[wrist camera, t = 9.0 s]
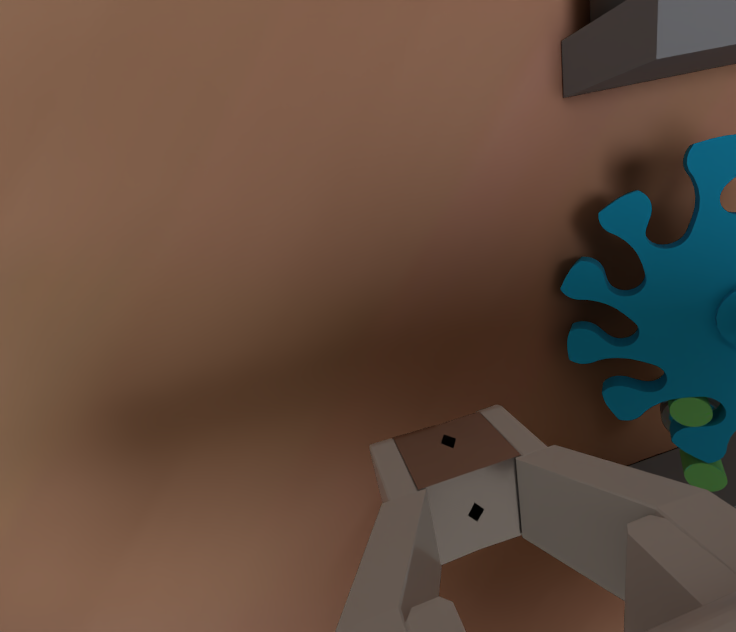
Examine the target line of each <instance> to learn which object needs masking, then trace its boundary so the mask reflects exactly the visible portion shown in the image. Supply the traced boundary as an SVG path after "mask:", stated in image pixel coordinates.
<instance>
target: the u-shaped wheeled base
mask: <svg viewBox="0 0 736 632" xmlns="http://www.w3.org/2000/svg"><path fill="white" fill-rule="evenodd" d="M731 64H736V0H590V23H589V24H588V25H586V26H585V27H583V28H581V29H580V30H578V31H577V32H575V33H573V34H572V35H570V36H569V37H567V38H565V39H564V40H562V65H563V92H564V98H566V97H571V96H576V95H581V94H586V93H591V92H596V91H601V90H606V89H611V88H616V87H621V86H626V85H631V84H636V83H641V82H646V81H651V80H656V79H661V78H666V77H671V76H676V75H681V74H686V73H691V72H696V71H701V70H706V69H711V68H716V67H721V66H726V65H731ZM721 462H722V465H723V468H724V471H725V474H726V476H727V485H726V486H725V487H724V488H723V489H721V490H719V491H714V492H711V493H713V494H714V495H716V496H717V497H719V498H720V499H722V500H723V501H725V502H726V503H728V504H729V505H731V506H732V507H734V508H735V509H736V431H735V432H734V434H733V435H732V436H731V438H730V440H729V442H728V444H727V451H726V454H725V455H724V457H723V458H721ZM628 467H631V468H635V469H638V470H641V471H645V472H648V473H652V474H655V475H658V476H662V477H665V478H668V479H672V480H675V481H678V482H682V483H685V484H689V483H688V482H687V480H686V479H685V477H684V472H683V467H682V462H681V457H680V448H677V449H674V450H672V451H669V452H666V453H663V454H660V455H658V456H655V457H652V458H649V459H647V460H644V461H641V462H638V463H635V464H633V465H630V466H628ZM689 485H690V484H689Z"/></svg>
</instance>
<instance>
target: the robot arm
mask: <svg viewBox="0 0 736 632" xmlns="http://www.w3.org/2000/svg"><path fill="white" fill-rule="evenodd" d="M369 448H370V454H371V458H372V462H373V467H374V471H375V475H376V479H377V484H378V488H379V492H380V495H381V499H382V504H381V507H380V510H379V513H378V515H377V518H376V521H375V524H374V526H373V529H372V532H371V535H370V537H369V540H368V543H367V546H366V548H365V551H364V554H363V557H362V559H361V562H360V565H359V568H358V570H357V573H356V576H355V579H354V581H353V584H352V587H351V590H350V592H349V595H348V598H347V601H346V604H345V606H344V609H343V612H342V615H341V617H340V620H339V623H338V626H337V628H336V631H335V632H466V631H465V628H464V626H463V624H462V621H461V619H460V617H459V615H458V612H457V610H456V608H455V606H454V603H453V602H452V601H449V600H447V599H444V598H442V597H439V589H440V579H441V570H442V568H441V565H443V564H445V563H448V562H450V561H453V560H455V559H458V558H460V557H462V556H465V555H467V554H470V553H472V552H475V551H477V550H479V549H482V548H485V547H488V546H491V545H494V544H497V543H500V542H503V541H506V540H509V539H512V538H515V537H517V536H520V535H522V537H523V538H524V539H526V540H527V541H529V542H531V543H532V544H534V545H535V546H537V547H539V548H540V549H542V550H543V551H545V552H547V553H548V554H550V555H551V556H553V557H555V558H556V559H558V560H559V561H561V562H563V563H564V564H566V565H568V566H569V567H571V568H572V569H574V570H576V571H577V572H579V573H580V574H582V575H584V576H585V577H587V578H588V579H590V580H592V581H593V582H595V583H596V584H598V585H600V586H601V587H603V588H604V589H606V590H608V591H609V592H611V593H612V594H614V595H616V596H617V597H619V598H620V599H622V600H624V601H625V611H624V632H736V509H735V508H734V507H732V506H731V505H729V504H728V503H726V502H725V501H723V500H722V499H720V498H719V497H717V496H716V495H714V494H713V493H711V492H710V491H708V490H705V489H702V488H699V487H695V486H692V485H689V484H685V483H682V482H678V481H675V480H672V479H668V478H665V477H662V476H658V475H655V474H652V473H648V472H645V471H641V470H638V469H635V468H631V467H628V466H625V465H621V464H618V463H614V462H611V461H608V460H604V459H601V458H598V457H594V456H591V455H587V454H584V453H581V452H577V451H574V450H571V449H567V448H564V447H560V446H557V445H552V446H549V447H547V446H546V445H545V444H544V443H543V442H542V441H541V440H539V439H538V438H537V437H536V436H535V435H534V434H533V433H532V432H530V431H529V430H528V429H527V428H526V427H525V426H524V425H523V424H521V423H520V422H519V421H518V420H517V419H516V418H515V417H513V416H512V415H511V414H510V413H509V412H508V411H507V410H506V409H504V408H503V407H502V406H500V405H497V404H496V405H494V406H491V407H488V408H485V409H482V410H479V411H476V413H473V414H470V415H467V416H463V417H460V418H457V419H454V420H451V421H448V422H445V423H442V424H439V425H434V426H431V427H427V428H424V429H420V430H417V431H413V432H410V433H407V434H403V435H400V436H396V437H393V438H392V439H391V438H390V439H387V440H383V441H380V442H377V443H373V444H370V445H369Z"/></svg>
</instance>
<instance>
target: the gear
mask: <svg viewBox="0 0 736 632" xmlns="http://www.w3.org/2000/svg"><path fill="white" fill-rule="evenodd" d="M683 166H684V169H685V171H686V173H687V174H688V175H689V177H690V178H691V181H692V183H693V186H694V190H695V208H694V212H693V215H692V218H691V221H690V223H689V226H688V228H687V231H686V232H685V234H684V235H683V236H682V237H681V238H680V239H679V240H677V241H675V242H673V243H670V244H663V245H661V244H656V243H653V242H651V241H650V240H649V239H648V238H647V237H646V228H647V225H648V222H649V219H650V216H651V212H652V205H651V202H650V200H649V198H648V197H647V196H646V195H645V194H644V193H643V192H641V191H639V190H635V191H632V192H629V193H627V194H625V195H623V196H621V197H619V198H617V199H616V200H614V201H613V202H611V203H610V204H609V205H607V206H606V207H605V208H603V209H602V210H601V211H600V212H599V213H598V218H599V222H600V224H601V226H602V227H603V228H604V229H605V230H606V231H608V232H609V233H612V234H614V235H616V236H618V237H620V238H621V239H623V240H625V241H626V242H627V243H628V244H629V245H630V246H631V247H632V248H633V249H634V250H635V252H636V253H637V254H638V256H639V258H640V260H641V263H642V265H643V268H644V271H645V278H644V280H643V282H642V283H641V284H640V285H639V286H637V287H636V288H633V289H630V290H620V289H617V288H615V287H613V286H612V285H611V284H610V283H609V281H608V279H607V276H606V273H605V270H604V268H603V266H602V265H601V263H600V262H599V261H597V260H596V259H593V258H591V257H581V258H580V259H579V260H577V261H576V262H575V264H574V265H573V266H572V267H571V269H570V271H569V273H568V274H567V276H566V278H565V280H564V282H563V284H562V286H561V288H560V289H561V291H562V292H563V293H564V294H565V295H566V296H568V297H570V298H572V299H577V300H592V301H598V302H601V303H604V304H607V305H609V306H612V307H614V308H616V309H617V310H619V311H620V312H622V313H623V314H625V315H626V316H627V317H628V318H630V319H631V320H632V321H633V322H634V323H635V324H636V325H637V326H638V329H637V331H636V332H635V333H634V334H633V335H631V336H629V337H626V338H615V337H612V336H610V335H609V334H607V333H606V332H605V331H603V330H602V329H601V328H600V327H599V326H597V325H596V324H594V323H591V322H587V321H579V322H575V323H573V324H572V327H571V329H570V332H569V335H568V340H567V350H568V356H569V360H571V361H573V362H575V363H579V364H588V363H592V362H595V361H598V360H602V359H607V358H627V359H633V360H638V361H642V362H646V363H649V364H653V365H656V366H658V367H660V368H661V369H662V370H663V371H664V374H663V375H662V376H661V377H660V378H659V379H656V380H654V381H641V380H638V379H634V378H631V377H627V376H613V377H610V378H608V379H606V380H605V381H604V382H603V387H602V395H603V399H604V401H605V403H606V404H607V406H608V407H609V409H610V410H611V411H612V412H613V414H614V415H615V416H616V417H617V418H618V419H619V420H624V421H626V420H633V419H636V418H638V417H640V416H641V415H642V414H643V413H644V412H645V411H646V410H648V409H649V408H651V407H652V406H654V405H657V404H659V403H661V404H660V411H661V418H662V422H663V424H664V426H665V427H666V429H667V430H668V431H669V432H670V434H671V440H672V442H673V443H674V444H675V445H676V446H677V447H679V448H680V457H681V462H682V467H683V472H684V477H685V479H686V480H687V482H688V483H689V484H690V485H692V486H695V487H699V488H702V489H705V490H708V491H710V492H714V491H719V490H721V489H723V488H724V487H725V486H726V485H727V476H726V474H725V471H724V468H723V465H722V462H721V458H723V457H724V455H725V454H726V451H727V444H728V442H729V440H730V438H731V436H732V435H733V434H734V432H735V431H736V212H727V211H726V210H724V208H723V207H722V206H721V203H720V195H721V192H722V190H723V188H724V187H725V186H726V185H727V184H728V183H729V182H730V181H731V180H732V179H733V178H735V177H736V134H735V135H726V136H722V137H717V138H712V139H709V140H705V141H702V142H699V143H695V144H692V145H690V146H689V148H688V149H687V151H686V152H685V155H684V158H683Z"/></svg>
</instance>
